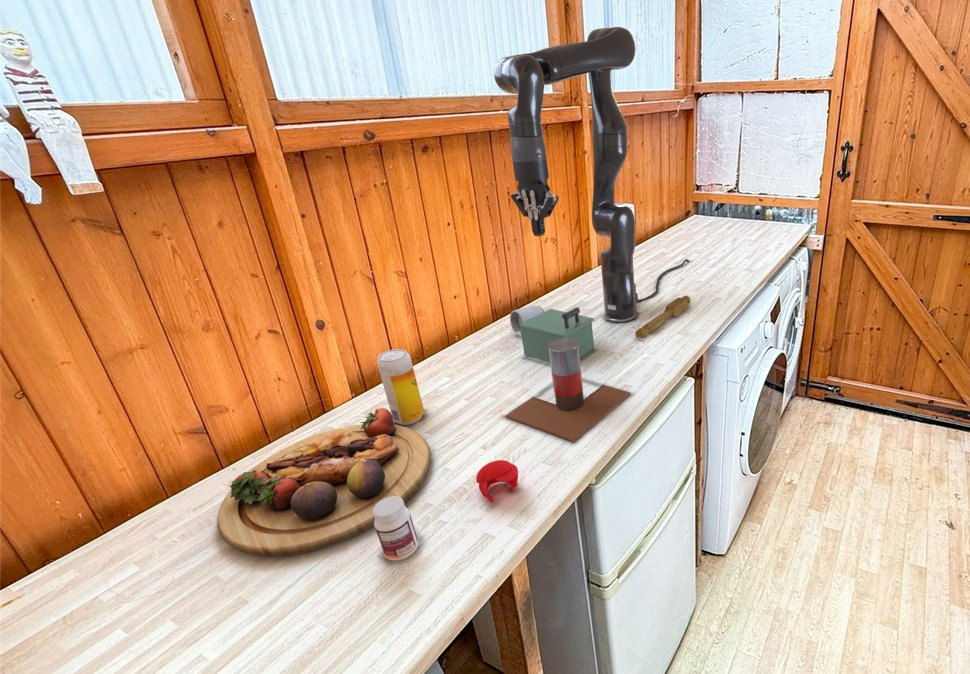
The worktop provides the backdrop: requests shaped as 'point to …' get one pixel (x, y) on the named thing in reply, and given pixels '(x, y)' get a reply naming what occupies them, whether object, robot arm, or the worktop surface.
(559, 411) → the mat
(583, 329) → the bin
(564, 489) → the worktop surface
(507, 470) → the cap
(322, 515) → the wooden plate
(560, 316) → the bin lid
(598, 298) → the worktop surface
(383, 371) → the beer can
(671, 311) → the tap handle
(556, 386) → the tin
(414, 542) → the pill bottle
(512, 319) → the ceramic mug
